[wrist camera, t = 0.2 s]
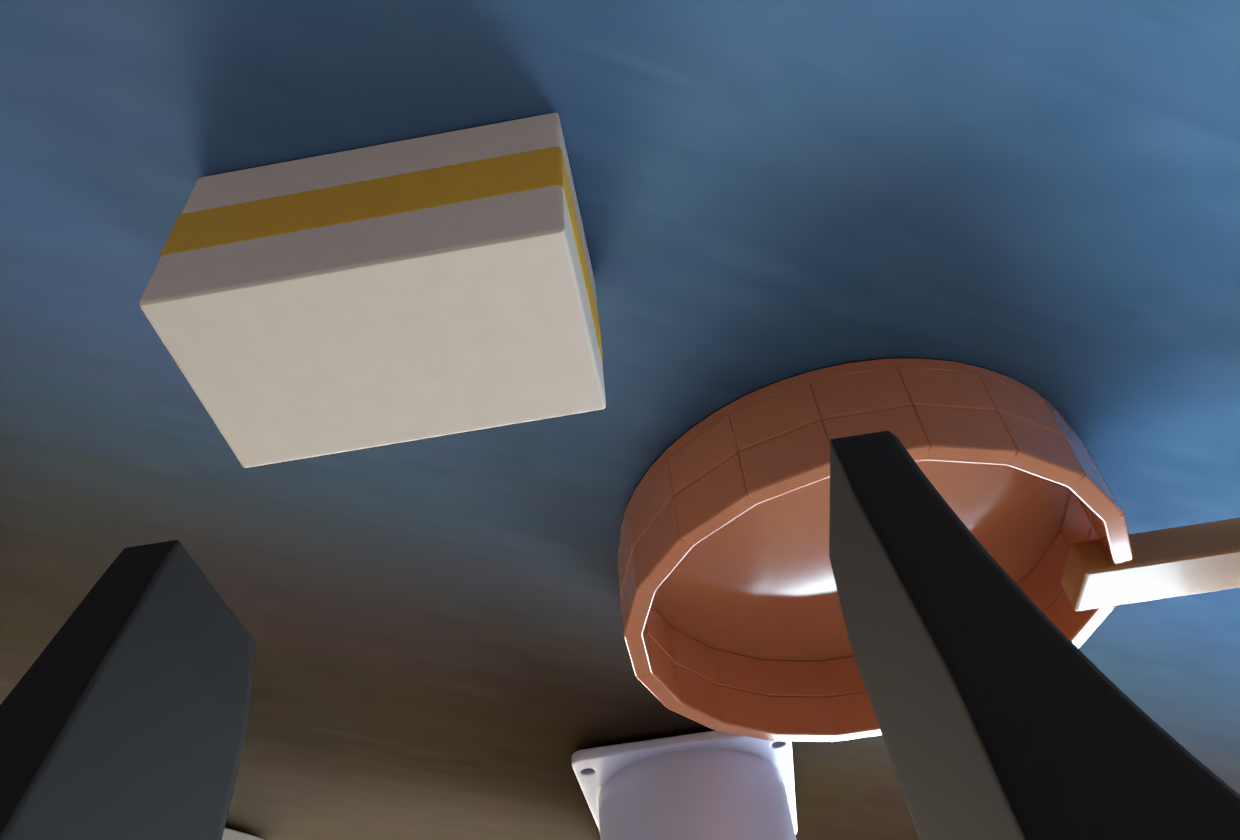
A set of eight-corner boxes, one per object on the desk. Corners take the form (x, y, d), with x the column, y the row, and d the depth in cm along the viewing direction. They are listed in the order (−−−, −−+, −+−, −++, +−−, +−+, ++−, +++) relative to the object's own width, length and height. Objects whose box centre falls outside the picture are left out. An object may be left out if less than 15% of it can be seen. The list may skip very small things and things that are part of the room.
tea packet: (596, 282, 21) (608, 410, 18) (281, 337, 21) (242, 470, 18) (559, 109, 18) (565, 227, 15) (195, 176, 18) (134, 303, 15)
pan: (1042, 624, 31) (1080, 707, 29) (650, 682, 32) (659, 767, 30) (1127, 316, 22) (1191, 403, 20) (579, 406, 23) (585, 499, 21)
